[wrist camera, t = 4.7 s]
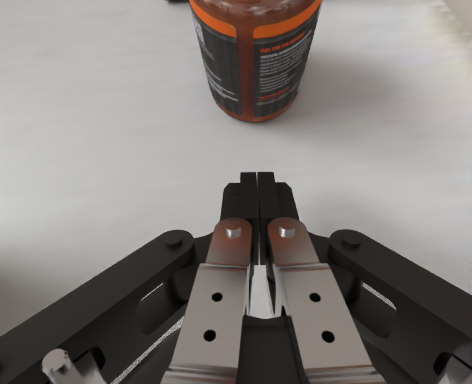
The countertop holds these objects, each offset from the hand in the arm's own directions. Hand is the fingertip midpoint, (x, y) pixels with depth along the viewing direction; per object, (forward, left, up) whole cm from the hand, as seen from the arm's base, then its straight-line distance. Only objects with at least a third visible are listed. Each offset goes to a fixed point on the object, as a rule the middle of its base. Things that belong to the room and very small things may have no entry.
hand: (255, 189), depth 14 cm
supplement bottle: (0, +8, -4) cm, 9 cm away
